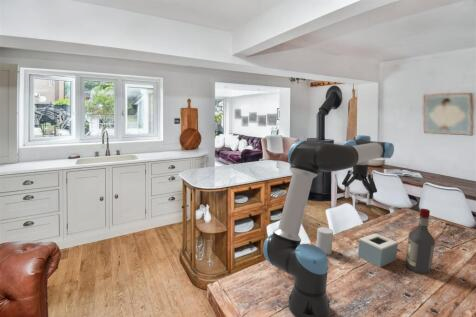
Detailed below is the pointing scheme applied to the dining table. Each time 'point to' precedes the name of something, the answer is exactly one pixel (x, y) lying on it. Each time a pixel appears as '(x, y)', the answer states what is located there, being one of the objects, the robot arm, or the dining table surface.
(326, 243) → the cup
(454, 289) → the dining table surface
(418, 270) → the liquor
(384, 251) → the open-top box
